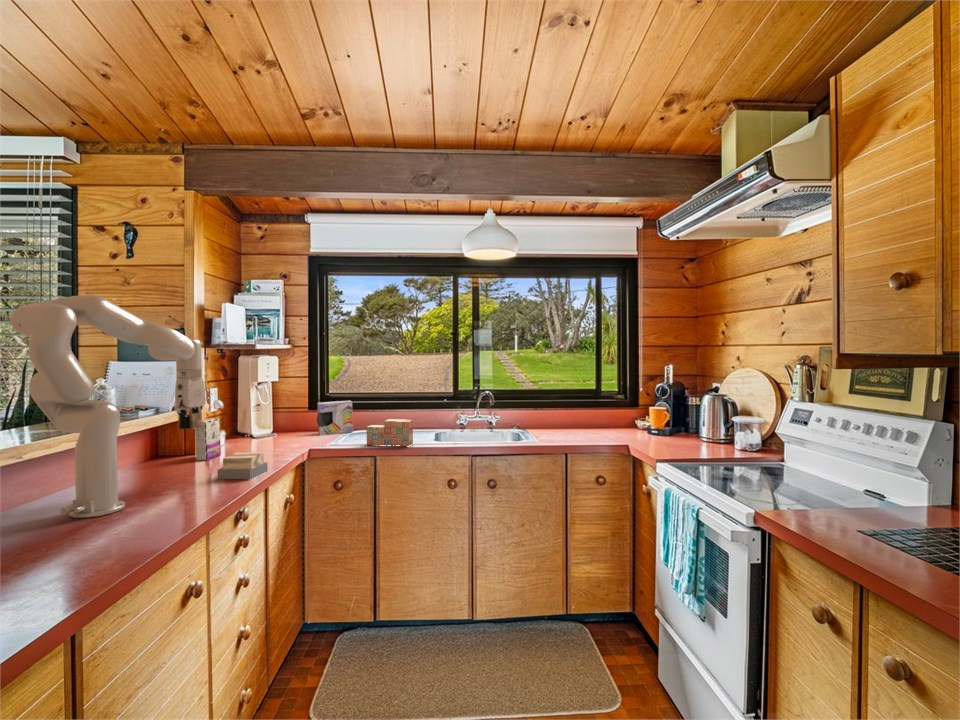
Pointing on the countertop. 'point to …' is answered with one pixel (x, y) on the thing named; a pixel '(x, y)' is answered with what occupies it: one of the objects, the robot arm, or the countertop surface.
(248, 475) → the slate base block
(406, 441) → the stack of blocks
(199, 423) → the walnut cube
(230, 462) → the pale birch block
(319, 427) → the cake pan box
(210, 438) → the candy bar box
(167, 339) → the robot arm
